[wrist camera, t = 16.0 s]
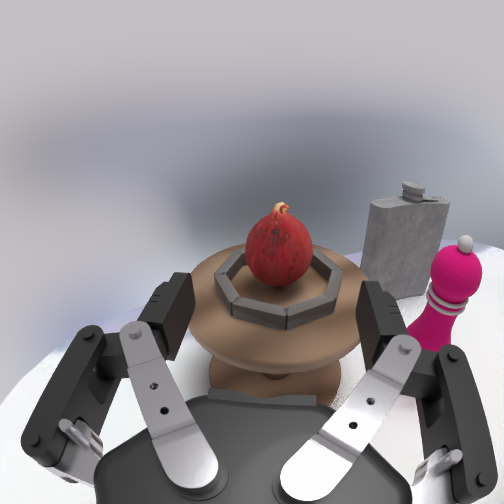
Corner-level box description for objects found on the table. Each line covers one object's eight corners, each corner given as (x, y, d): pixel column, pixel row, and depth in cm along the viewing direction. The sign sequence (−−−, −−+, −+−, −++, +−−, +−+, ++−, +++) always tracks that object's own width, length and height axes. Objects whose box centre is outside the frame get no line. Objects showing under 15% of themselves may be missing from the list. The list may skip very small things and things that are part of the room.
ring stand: (374, 396, 30) (418, 297, 22) (233, 462, 24) (214, 382, 16) (301, 312, 44) (309, 218, 37) (186, 347, 38) (164, 249, 31)
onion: (300, 312, 24) (307, 223, 20) (236, 298, 26) (230, 212, 22) (314, 275, 28) (321, 197, 24) (259, 264, 30) (258, 189, 26)
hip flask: (358, 313, 43) (382, 190, 33) (346, 298, 47) (364, 180, 37) (427, 293, 46) (456, 188, 36) (415, 281, 50) (439, 180, 40)
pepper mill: (432, 397, 28) (506, 262, 18) (382, 386, 31) (439, 244, 21) (435, 357, 33) (489, 230, 24) (391, 347, 36) (433, 215, 27)
